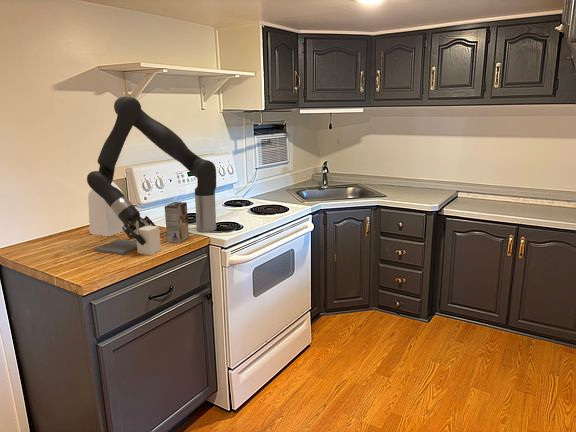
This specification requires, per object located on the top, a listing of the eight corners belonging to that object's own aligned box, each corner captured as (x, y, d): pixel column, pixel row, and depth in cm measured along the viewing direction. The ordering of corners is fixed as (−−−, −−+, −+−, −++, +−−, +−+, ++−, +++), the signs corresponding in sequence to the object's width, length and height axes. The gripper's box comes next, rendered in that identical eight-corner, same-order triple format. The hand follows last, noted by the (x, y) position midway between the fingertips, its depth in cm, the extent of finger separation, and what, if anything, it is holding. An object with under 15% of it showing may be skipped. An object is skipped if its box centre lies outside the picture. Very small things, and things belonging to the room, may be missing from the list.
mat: (94, 251, 179) (94, 248, 179) (118, 241, 192) (118, 239, 192) (122, 255, 174) (122, 252, 174) (145, 244, 187) (145, 242, 187)
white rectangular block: (137, 253, 176) (135, 229, 174) (147, 248, 182) (145, 225, 180) (151, 255, 174) (149, 230, 172) (160, 250, 180) (159, 226, 178)
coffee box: (175, 236, 200) (173, 201, 196) (189, 237, 198) (187, 202, 194) (166, 242, 191) (164, 206, 187) (180, 243, 190) (178, 206, 186)
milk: (110, 227, 214) (104, 174, 208) (128, 230, 209) (123, 175, 203) (89, 233, 203) (83, 177, 197) (108, 236, 199) (102, 179, 192)
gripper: (117, 208, 170) (144, 240, 169) (141, 201, 183) (166, 230, 182) (108, 220, 173) (134, 251, 172) (132, 212, 186) (156, 241, 185)
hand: (151, 240), depth 177 cm, fingers open, 8 cm apart
